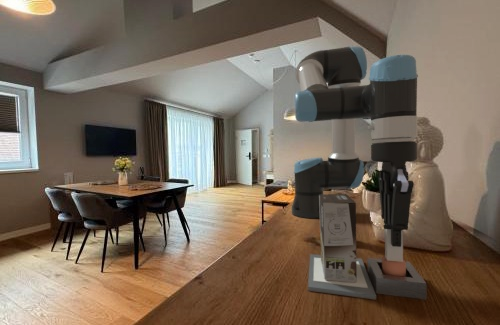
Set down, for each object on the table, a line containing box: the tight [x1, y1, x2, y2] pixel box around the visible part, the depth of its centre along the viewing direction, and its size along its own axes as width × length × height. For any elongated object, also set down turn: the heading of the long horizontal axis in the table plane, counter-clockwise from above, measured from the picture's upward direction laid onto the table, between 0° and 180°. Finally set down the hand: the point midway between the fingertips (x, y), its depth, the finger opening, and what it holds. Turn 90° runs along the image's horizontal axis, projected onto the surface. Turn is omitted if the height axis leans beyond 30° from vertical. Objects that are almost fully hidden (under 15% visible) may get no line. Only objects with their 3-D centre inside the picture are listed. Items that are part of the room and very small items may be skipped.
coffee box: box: [319, 193, 357, 283], centre depth 49 cm, size 9×6×16 cm
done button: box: [381, 255, 406, 277], centre depth 45 cm, size 4×4×4 cm
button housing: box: [366, 257, 428, 300], centre depth 45 cm, size 8×8×3 cm
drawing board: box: [307, 253, 377, 301], centre depth 49 cm, size 14×12×1 cm
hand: (393, 259), depth 45 cm, fingers closed
